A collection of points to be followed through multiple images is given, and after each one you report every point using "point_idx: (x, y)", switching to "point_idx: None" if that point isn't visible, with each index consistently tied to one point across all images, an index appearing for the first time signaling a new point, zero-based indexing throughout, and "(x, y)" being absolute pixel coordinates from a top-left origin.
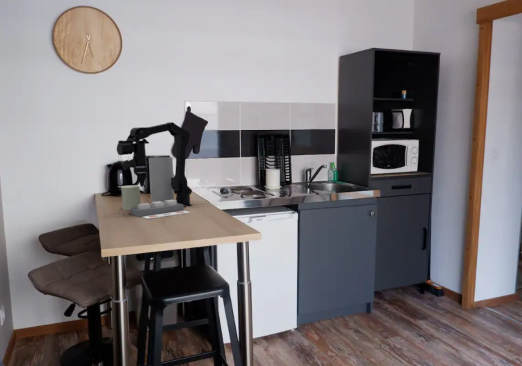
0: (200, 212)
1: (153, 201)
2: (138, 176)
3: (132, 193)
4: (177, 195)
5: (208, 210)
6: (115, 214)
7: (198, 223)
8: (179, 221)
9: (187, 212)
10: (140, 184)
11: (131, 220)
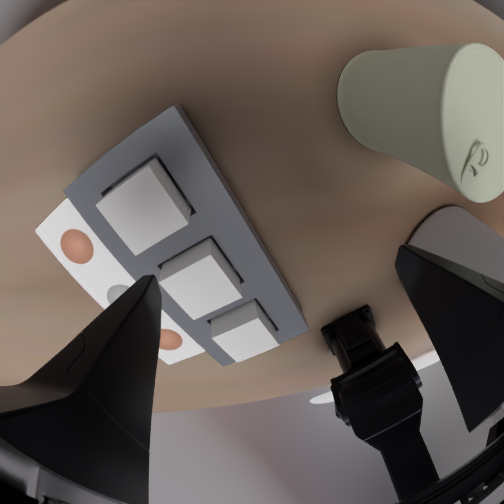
0: (173, 381)
1: (435, 224)
2: (35, 390)
3: (405, 119)
4: (364, 351)
5: (207, 395)
6: (202, 12)
7: (26, 361)
8: (29, 329)
9: (162, 358)
10: (126, 295)
11: (15, 160)
